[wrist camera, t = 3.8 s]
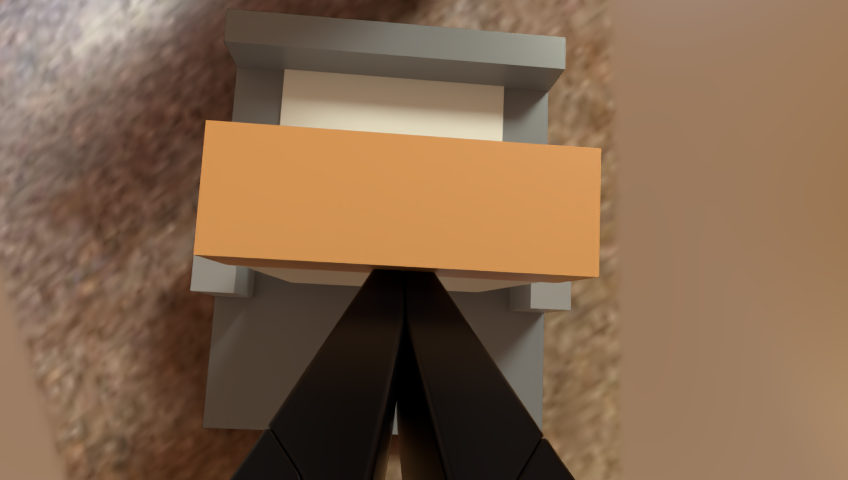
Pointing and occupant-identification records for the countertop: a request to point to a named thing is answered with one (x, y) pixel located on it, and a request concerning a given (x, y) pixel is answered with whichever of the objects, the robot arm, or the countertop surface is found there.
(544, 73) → the grey twin-post base
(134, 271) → the countertop surface
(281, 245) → the lever
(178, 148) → the countertop surface
